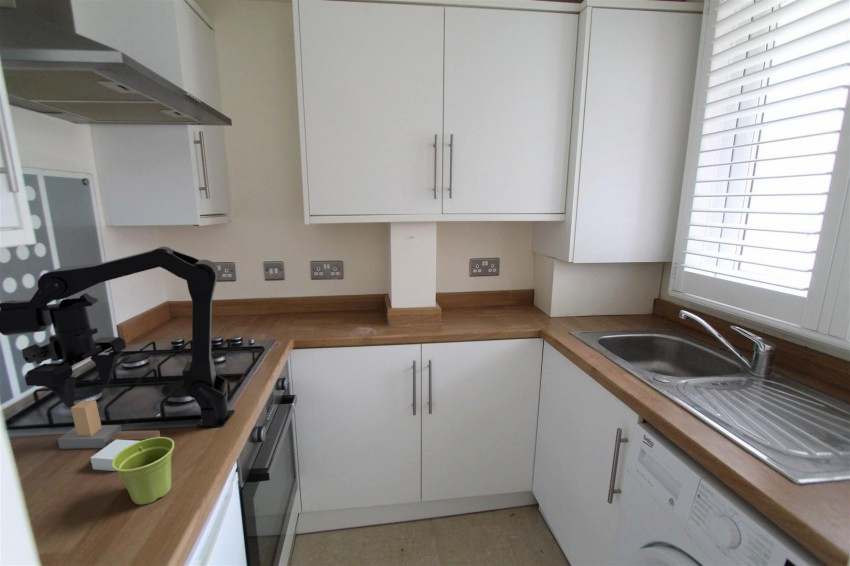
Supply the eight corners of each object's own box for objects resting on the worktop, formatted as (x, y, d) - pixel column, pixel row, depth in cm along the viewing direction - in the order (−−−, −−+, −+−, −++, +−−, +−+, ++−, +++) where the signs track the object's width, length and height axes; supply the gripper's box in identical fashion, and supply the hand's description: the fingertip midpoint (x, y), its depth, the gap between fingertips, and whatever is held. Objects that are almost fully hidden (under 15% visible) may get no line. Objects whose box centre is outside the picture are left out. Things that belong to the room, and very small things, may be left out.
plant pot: (109, 516, 68) (99, 473, 66) (137, 478, 77) (129, 439, 75) (168, 508, 70) (160, 466, 68) (189, 472, 79) (182, 434, 77)
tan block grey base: (79, 435, 91) (70, 398, 89) (122, 434, 91) (114, 397, 89) (60, 449, 86) (50, 410, 84) (105, 448, 86) (97, 409, 84)
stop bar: (121, 440, 89) (119, 431, 88) (161, 440, 89) (159, 430, 88) (110, 449, 86) (108, 439, 85) (152, 448, 86) (150, 438, 85)
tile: (118, 451, 86) (116, 439, 85) (143, 453, 85) (141, 441, 84) (93, 470, 80) (90, 457, 79) (120, 472, 79) (117, 459, 79)
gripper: (72, 314, 91) (87, 376, 94) (-15, 345, 73) (7, 420, 76) (120, 313, 91) (133, 375, 95) (46, 344, 73) (65, 419, 76)
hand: (88, 395), depth 85 cm, fingers open, 9 cm apart
